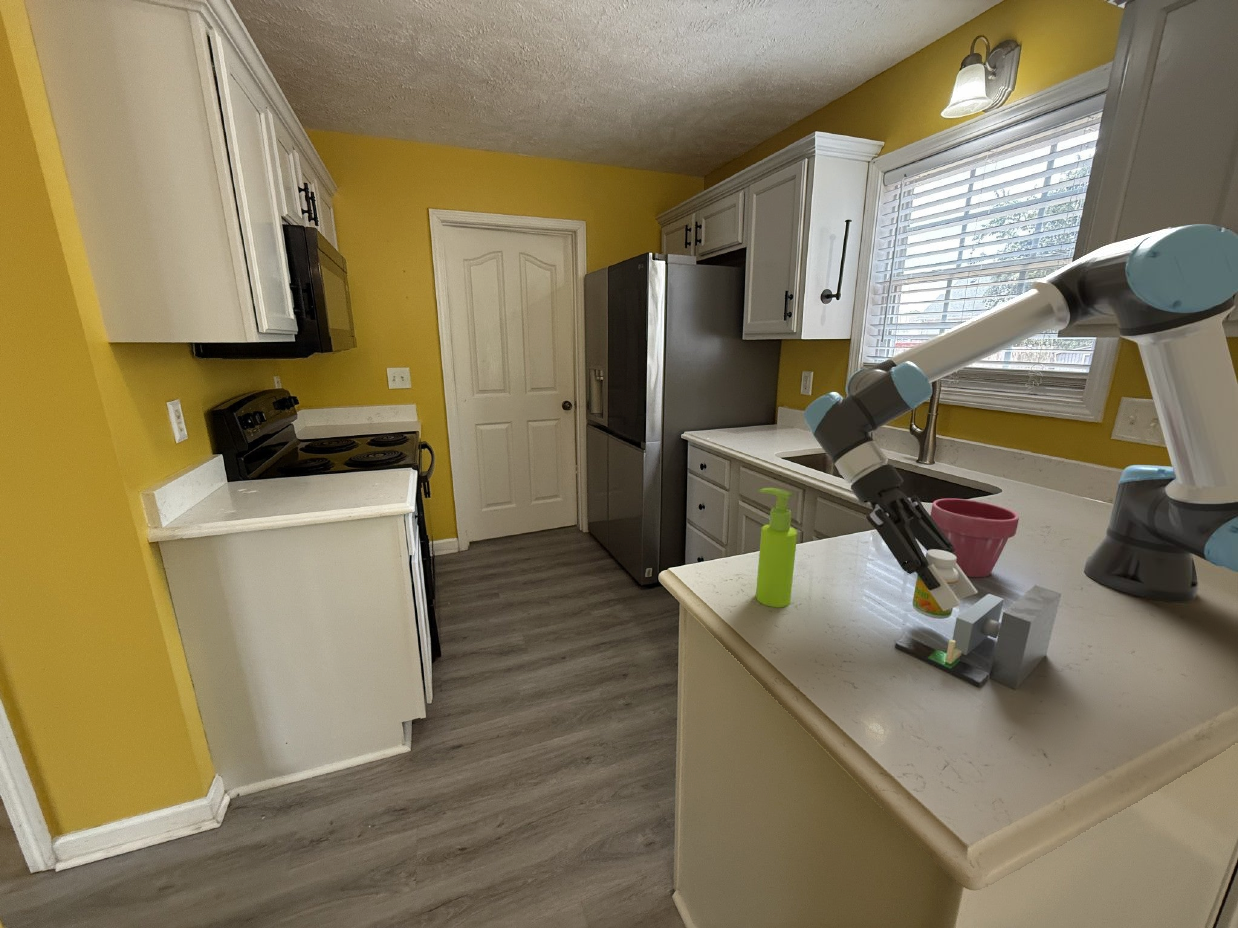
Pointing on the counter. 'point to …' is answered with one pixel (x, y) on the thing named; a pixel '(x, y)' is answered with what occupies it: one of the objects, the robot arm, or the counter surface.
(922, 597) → the supplement bottle
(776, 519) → the soap dispenser
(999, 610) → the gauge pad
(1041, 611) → the frame
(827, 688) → the counter surface
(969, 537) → the plant pot
